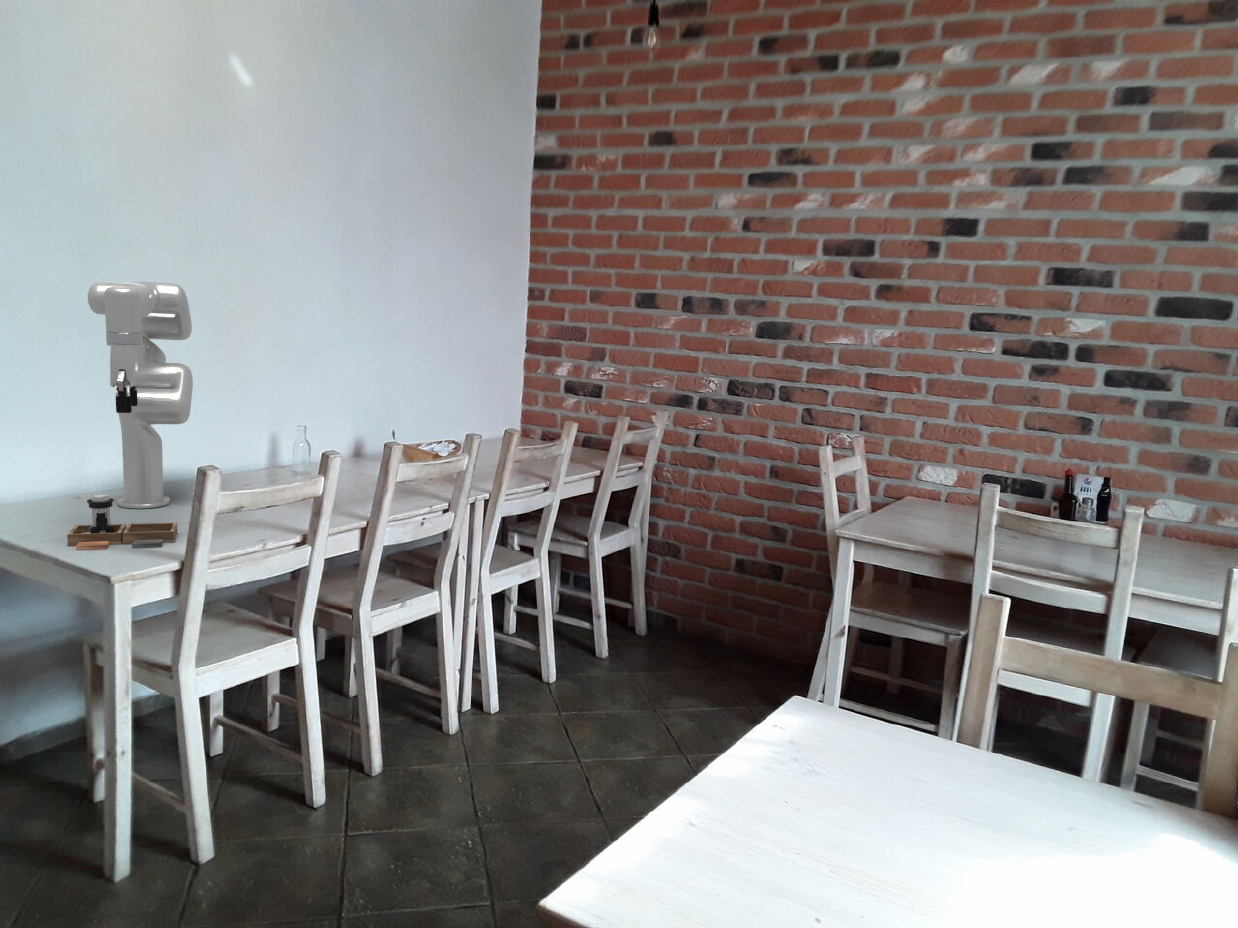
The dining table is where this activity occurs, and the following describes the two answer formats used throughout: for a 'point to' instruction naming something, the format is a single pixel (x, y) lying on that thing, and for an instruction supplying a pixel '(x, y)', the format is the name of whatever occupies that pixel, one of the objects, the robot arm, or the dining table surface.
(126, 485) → the robot arm
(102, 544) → the terracotta tag dock
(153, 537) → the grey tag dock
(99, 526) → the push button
